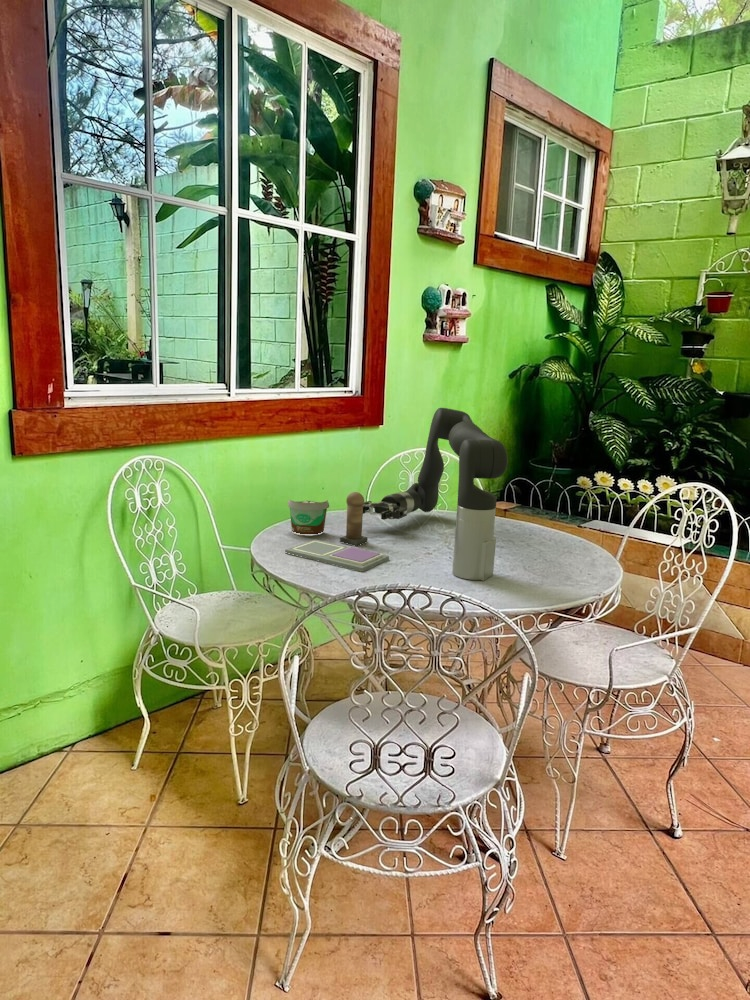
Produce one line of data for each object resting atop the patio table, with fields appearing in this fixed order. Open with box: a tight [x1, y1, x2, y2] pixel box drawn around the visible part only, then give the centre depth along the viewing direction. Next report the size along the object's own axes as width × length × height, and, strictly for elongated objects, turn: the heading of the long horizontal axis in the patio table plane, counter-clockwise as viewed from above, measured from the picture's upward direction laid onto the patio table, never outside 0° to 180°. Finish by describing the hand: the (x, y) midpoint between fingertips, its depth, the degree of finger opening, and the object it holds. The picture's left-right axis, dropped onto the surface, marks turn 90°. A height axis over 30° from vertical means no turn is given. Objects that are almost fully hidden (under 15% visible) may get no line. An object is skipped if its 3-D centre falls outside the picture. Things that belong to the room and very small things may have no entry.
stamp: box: [339, 491, 369, 547], centre depth 180 cm, size 6×6×14 cm
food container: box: [286, 498, 330, 534], centre depth 187 cm, size 12×6×10 cm, turn 92°
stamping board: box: [284, 539, 390, 572], centre depth 168 cm, size 24×13×2 cm, turn 58°
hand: (369, 513), depth 187 cm, fingers open, 8 cm apart
